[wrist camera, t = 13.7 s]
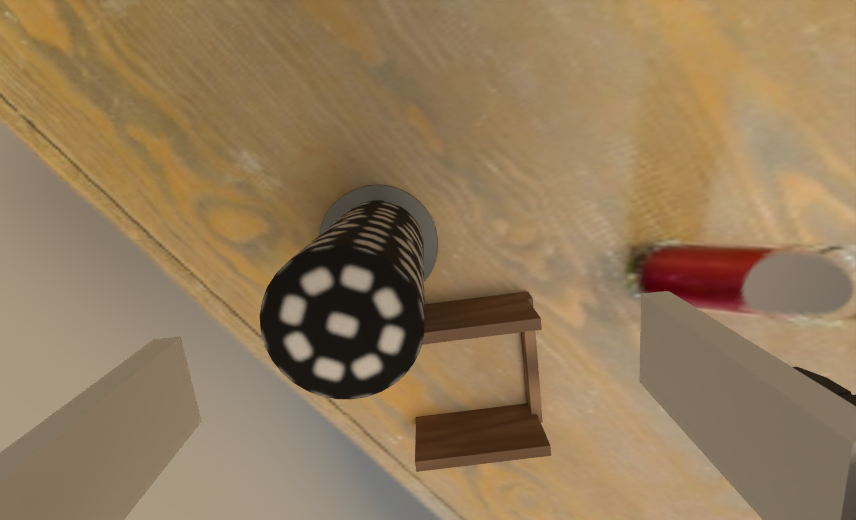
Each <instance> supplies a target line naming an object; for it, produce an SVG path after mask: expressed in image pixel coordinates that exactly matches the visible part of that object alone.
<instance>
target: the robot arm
mask: <svg viewBox="0 0 856 520" xmlns="http://www.w3.org/2000/svg"><path fill="white" fill-rule="evenodd" d="M640 383H641V384H642V385H643V386H644V387H645V388H646V390H647V391H648V392H649V393H650V394H651V395H652V396H653V397H654V399H655V400H656V401H657V402H658V403H659V404H660V405H661V406H662V407H663V409H664V410H665V411H666V412H667V413H668V414H669V415H670V416H671V418H672V419H673V420H674V421H675V422H676V423H677V424H678V425H679V427H680V428H681V429H682V430H683V431H684V432H685V433H686V434H687V435H688V437H689V438H690V439H691V440H692V441H693V442H694V443H695V444H696V446H697V447H698V448H699V449H700V450H701V451H702V452H703V453H704V455H705V456H706V457H707V458H708V459H709V460H710V461H711V462H712V463H713V465H714V466H715V467H716V468H717V469H718V470H719V471H720V472H721V474H722V475H723V476H724V477H725V478H726V479H727V480H728V481H729V482H730V484H731V485H732V486H733V487H734V488H735V489H736V490H737V491H738V493H739V494H740V495H741V496H742V497H743V498H744V499H745V500H746V502H747V503H748V504H749V505H750V506H751V507H752V508H753V509H754V510H755V512H756V513H757V514H758V515H759V516H760V517H761V518H762V519H763V520H856V395H852V394H851V392H850V391H848V390H847V389H845V388H843V387H842V386H840V385H838V384H837V383H835V382H833V381H831V380H830V379H828V378H826V377H823V376H821V375H818V374H815V373H813V372H810V371H807V370H804V369H802V368H799V367H791V366H789V365H788V364H786V363H784V362H783V361H781V360H780V359H778V358H776V357H775V356H773V355H771V354H770V353H768V352H767V351H765V350H763V349H762V348H760V347H758V346H757V345H755V344H754V343H752V342H750V341H749V340H747V339H745V338H744V337H742V336H741V335H739V334H737V333H736V332H734V331H732V330H731V329H729V328H728V327H726V326H724V325H723V324H721V323H719V322H718V321H716V320H715V319H713V318H711V317H710V316H708V315H706V314H705V313H703V312H702V311H700V310H698V309H697V308H695V307H694V306H692V305H690V304H689V303H687V302H685V301H684V300H682V299H681V298H679V297H677V296H676V295H674V294H672V293H671V292H669V291H666V292H655V293H644V294H641V336H640ZM200 423H201V417H200V413H199V409H198V405H197V401H196V397H195V393H194V389H193V385H192V381H191V377H190V373H189V369H188V365H187V361H186V357H185V353H184V349H183V345H182V340H181V337H174V338H163V339H154V340H153V341H151V342H150V343H149V344H147V345H146V346H144V347H143V348H142V349H140V350H139V351H138V352H136V353H135V354H134V355H132V356H131V357H130V358H128V359H127V360H125V361H124V362H123V363H122V364H120V365H119V366H117V367H116V368H115V369H113V370H112V371H111V372H109V373H108V374H107V375H105V376H104V377H102V378H101V379H100V380H98V381H97V382H96V383H94V384H93V385H92V386H90V387H89V388H87V389H86V390H85V391H83V392H82V393H81V394H79V395H78V396H77V397H75V398H74V399H73V400H71V401H70V402H69V403H67V404H66V405H64V406H63V407H62V408H60V409H59V410H58V411H56V412H55V413H54V414H52V415H51V416H49V417H48V418H47V419H45V420H44V421H43V422H41V423H40V424H39V425H37V426H36V427H35V428H33V429H32V430H31V431H29V432H28V433H27V434H25V435H24V436H22V437H21V438H20V439H18V440H17V441H16V442H14V443H13V444H11V445H10V446H9V447H8V448H6V449H5V450H3V451H2V452H1V453H0V520H124V519H125V518H126V516H127V515H128V514H129V513H130V511H131V510H132V509H133V508H134V506H135V505H136V504H137V502H138V501H139V500H140V499H141V497H142V496H143V495H144V494H145V492H146V491H147V490H148V489H149V487H150V486H151V485H152V484H153V482H154V481H155V480H156V479H157V477H158V476H159V475H160V473H161V472H162V471H163V470H164V468H165V467H166V466H167V465H168V463H169V462H170V461H171V459H172V458H173V457H174V456H175V454H176V453H177V452H178V451H179V449H180V448H181V447H182V446H183V444H184V443H185V442H186V441H187V439H188V438H189V437H190V436H191V434H192V433H193V432H194V430H195V429H196V428H197V427H198V425H199V424H200Z"/></svg>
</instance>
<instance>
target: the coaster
mask: <svg viewBox="0 0 856 520" xmlns="http://www.w3.org/2000/svg"><path fill="white" fill-rule="evenodd" d="M373 200H382V201H388V202H392V203H394V204H397V205H399V206H401V207H402V208H404V209H405V210H407V211H408V212H409V213H410V214H411V215H412V216H413V217H414V219H415V220H416V222H417V223H418V225H419V227H420V230H421V232H422V236H423V242H424V281H425V280H426V279H427V278H428V276H429V275H430V273H431V271H432V269H433V267H434V264H435V261H436V257H437V252H438V238H437V232H436V228H435V225H434V222H433V220H432V218H431V216H430V214H429V213H428V211H427V210H426V208H425V207H424V206H423V205H422V204H421V203H420V202H419V201H418V200H417V199H416V198H415V197H413V196H412V195H410V194H409V193H407V192H405V191H403V190H401V189H398V188H395V187H391V186H386V185H370V186H365V187H361V188H358V189H355V190H353V191H351V192H349V193H347V194H346V195H344V196H343V197H341V198H340V199H339V200H338V201H337V202H335V203H334V205H333V206H332V207H331V208H330V209H329V211H328V213H327V214H326V216H325V218H324V220H323V223H322V226H321V229H320V234H322V233H323V232H324V231H325V230H326V229H328V228H329V227H330V226H331V225H332V224H333V223H335V222H336V221H337V220H338V219H339V218H341V217H342V216H343V215H344V214H345V213H346V212H348V211H349V210H350V209H352V208H353V207H355V206H356V205H359V204H361V203H364V202H367V201H373Z"/></svg>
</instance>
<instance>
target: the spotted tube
mask: <svg viewBox="0 0 856 520" xmlns="http://www.w3.org/2000/svg"><path fill="white" fill-rule="evenodd" d="M424 323H425V312H424V242H423V236H422V232H421V230H420V227H419V225H418V223H417V222H416V220H415V219H414V217H413V216H412V215H411V214H410V213H409V212H408V211H407V210H405V209H404V208H402V207H401V206H399V205H397V204H394V203H392V202H388V201H382V200H373V201H367V202H364V203H361V204H359V205H356V206H355V207H353V208H352V209H350V210H349V211H348V212H346V213H345V214H344V215H343V216H342V217H341V218H339V219H338V220H337V221H336V222H335V223H333V224H332V225H331V226H330V227H329V228H328V229H326V230H325V231H324V232H323V233H322V234H320V235H319V236H318V237H317V238H316V239H315V240H313V241H312V242H311V243H310V244H309V245H307V246H306V247H305V248H304V249H303V250H301V251H300V252H299V253H298V254H297V255H296V256H294V257H293V258H292V259H291V260H290V261H288V262H287V263H286V264H285V265H284V266H283V267H282V268H281V269H280V270H279V271H278V272H277V273H276V274H275V276H274V278H273V279H272V281H271V282H270V284H269V285H268V287H267V289H266V292H265V295H264V297H263V300H262V305H261V312H260V327H261V334H262V337H263V341H264V345H265V347H266V349H267V351H268V353H269V355H270V357H271V359H272V361H273V362H274V363H275V365H276V366H277V367H278V368H279V370H280V371H281V372H282V373H283V374H284V375H285V376H286V377H288V378H289V379H290V380H291V381H292V382H293V383H295V384H297V385H298V386H300V387H302V388H303V389H305V390H307V391H309V392H312V393H314V394H317V395H320V396H324V397H329V398H334V399H356V398H362V397H368V396H370V395H373V394H376V393H379V392H381V391H383V390H385V389H387V388H388V387H390V386H392V385H393V384H395V383H396V382H397V381H398V380H399V379H400V378H402V377H403V376H404V375H405V374H406V373H407V371H408V370H409V369H410V367H411V366H412V365H413V363H414V362H415V360H416V358H417V356H418V354H419V352H420V349H421V346H422V342H423V337H424Z"/></svg>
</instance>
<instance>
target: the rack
mask: <svg viewBox="0 0 856 520" xmlns="http://www.w3.org/2000/svg"><path fill="white" fill-rule="evenodd" d="M424 312H425V323H424V337H423V342H422V344H430V343H438V342H446V341H454V340H462V339H470V338H478V337H486V336H494V335H502V334H510V333H518V332H521V339H522V350H523V362H524V373H525V384H526V396H527V404H521V405H513V406H505V407H496V408H488V409H480V410H472V411H464V412H455V413H447V414H439V415H431V416H423V417H416V445H415V464H416V471H417V472H418V471H426V470H435V469H443V468H451V467H460V466H468V465H476V464H485V463H493V462H501V461H510V460H518V459H526V458H535V457H543V456H551V448H550V444H549V441H548V439H547V437H546V434H545V432H544V430H543V427H542V425H541V422H542V410H541V397H540V385H539V372H538V360H537V347H536V335H535V330H542V329H541V318H540V317H539V315H538V314H537V312H536V311H535V309H534V308H533V298H532V297H531V295H530V294H529V293H528V292H522V293H514V294H506V295H498V296H490V297H482V298H474V299H466V300H458V301H450V302H443V303H435V304H427V305H424Z"/></svg>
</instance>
